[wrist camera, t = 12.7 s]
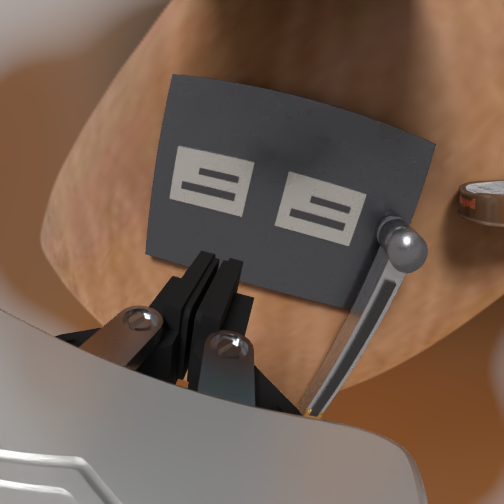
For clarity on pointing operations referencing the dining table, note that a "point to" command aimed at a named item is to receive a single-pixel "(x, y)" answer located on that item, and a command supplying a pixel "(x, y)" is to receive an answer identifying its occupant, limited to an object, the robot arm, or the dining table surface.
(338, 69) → the dining table surface
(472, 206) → the tin
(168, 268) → the dining table surface
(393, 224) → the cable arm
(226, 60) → the dining table surface
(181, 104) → the panel
